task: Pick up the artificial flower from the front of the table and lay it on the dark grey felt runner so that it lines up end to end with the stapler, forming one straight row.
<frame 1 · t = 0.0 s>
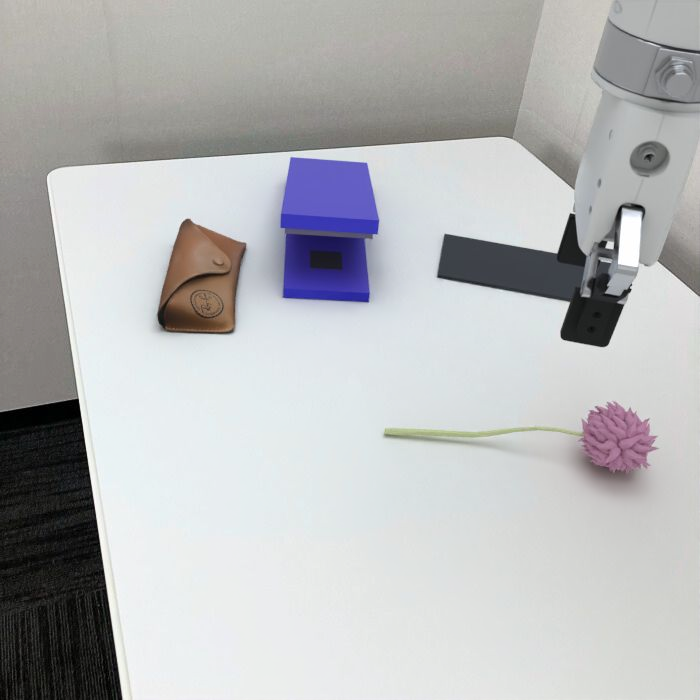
hand: (579, 299, 56), 21 cm above the table, tool pointing down, fingers open, 9 cm apart
sunglasses case: (205, 285, 89), on the table
runner: (526, 271, 98), on the table
stapler: (325, 236, 100), on the table
artificial flower: (514, 453, 73), on the table
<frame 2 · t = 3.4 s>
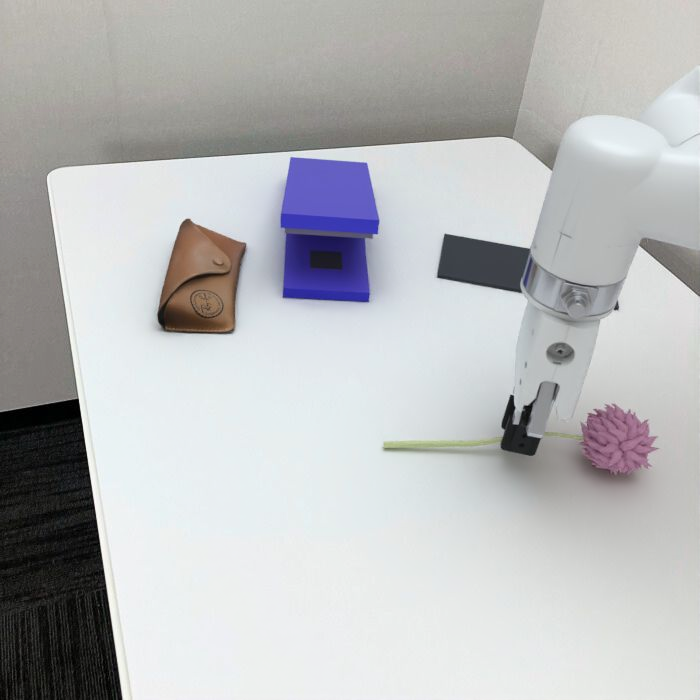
hand: (517, 439, 72), 2 cm above the table, tool pointing down, fingers closed on artificial flower
artificial flower: (514, 460, 73), on the table, touching gripper
everything else where it was.
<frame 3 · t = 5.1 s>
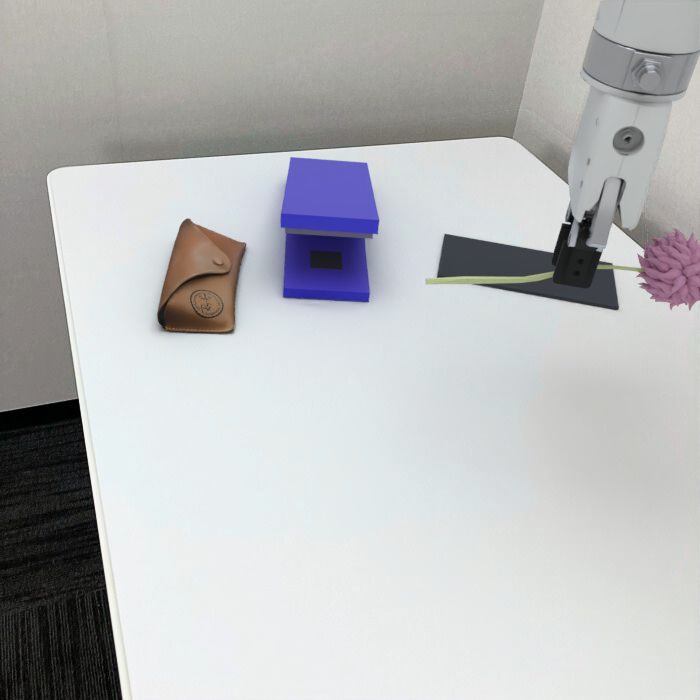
hand: (570, 274, 67), 17 cm above the table, tool pointing down, fingers closed on artificial flower
artificial flower: (566, 298, 67), point 15 cm above the table, touching gripper
everything else where it was.
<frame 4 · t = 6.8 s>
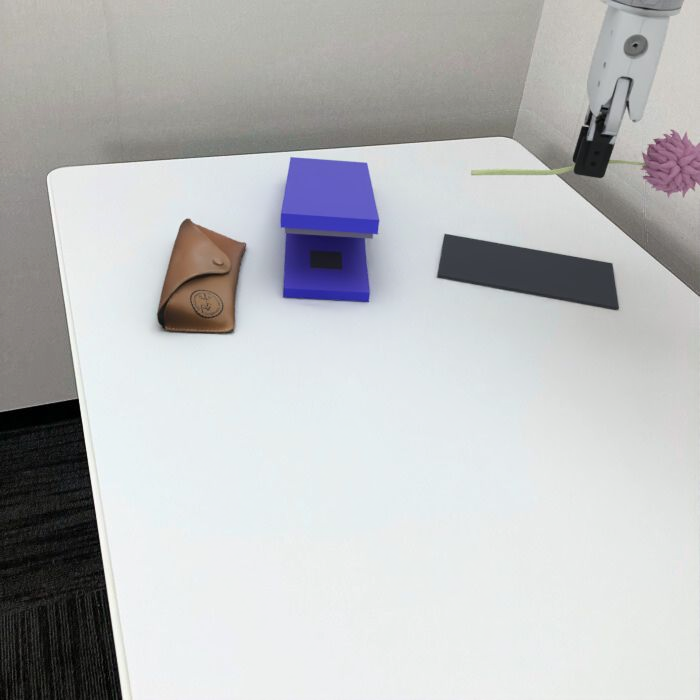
hand: (587, 168, 83), 17 cm above the table, tool pointing down, fingers closed on artificial flower
artificial flower: (584, 188, 84), point 15 cm above the table, touching gripper
everything else where it was.
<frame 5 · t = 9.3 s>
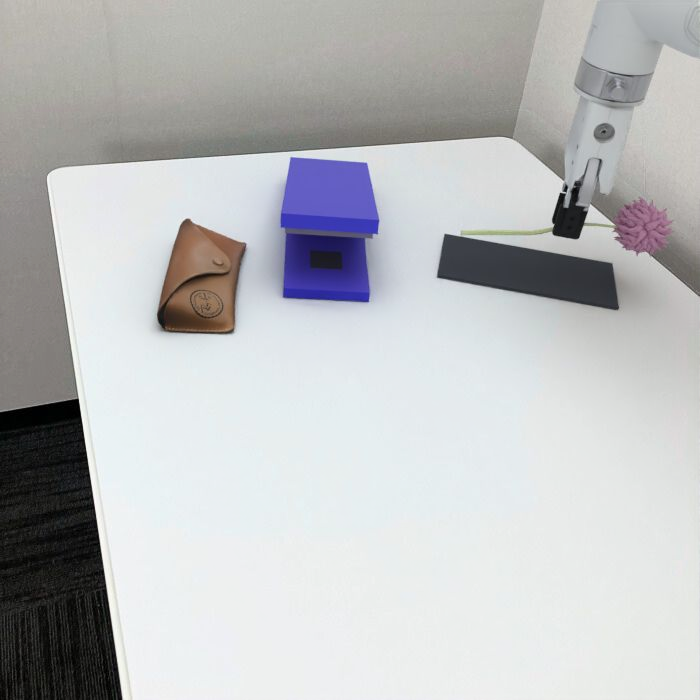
hand: (565, 229, 93), 7 cm above the table, tool pointing down, fingers closed on artificial flower
artificial flower: (561, 247, 94), point 5 cm above the table, touching gripper
everything else where it was.
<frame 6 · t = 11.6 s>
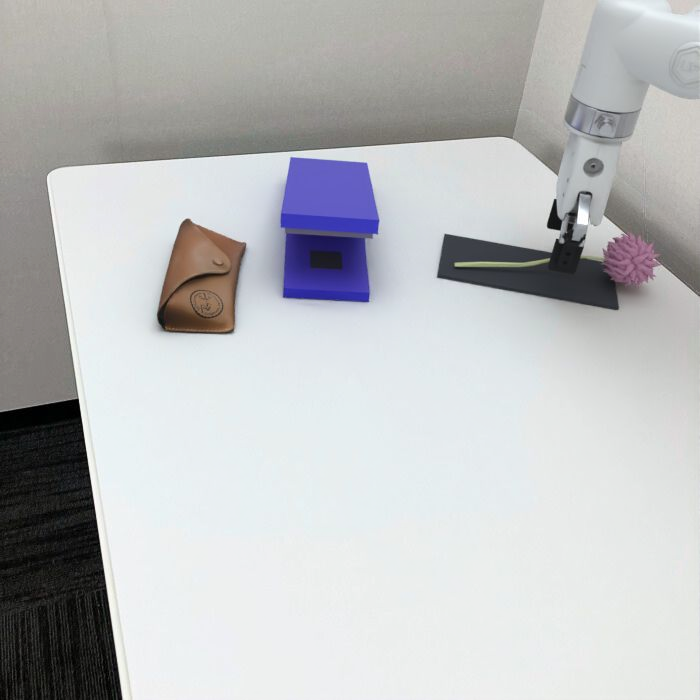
hand: (559, 249, 95), 4 cm above the table, tool pointing down, fingers open, 9 cm apart
artificial flower: (552, 278, 96), resting on runner
everything else where it was.
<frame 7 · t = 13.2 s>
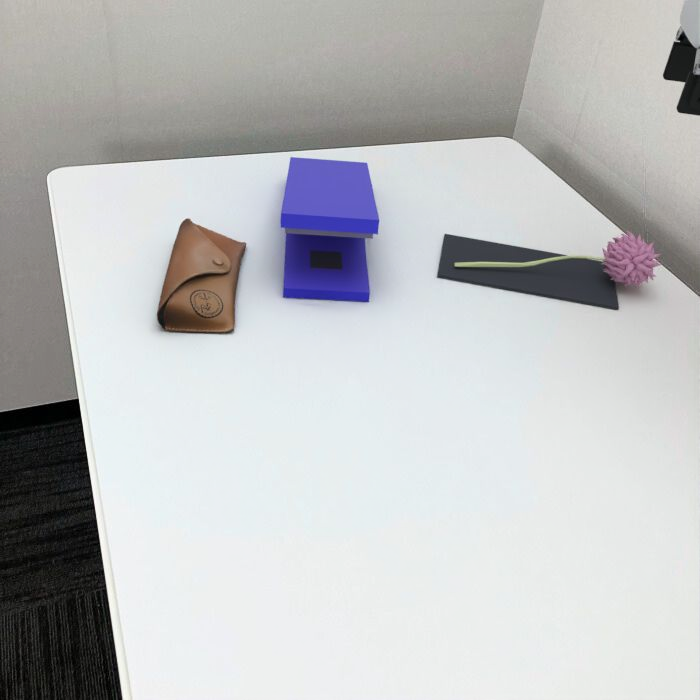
hand: (683, 96, 82), 24 cm above the table, tool pointing down, fingers open, 9 cm apart
nothing on the table moved.
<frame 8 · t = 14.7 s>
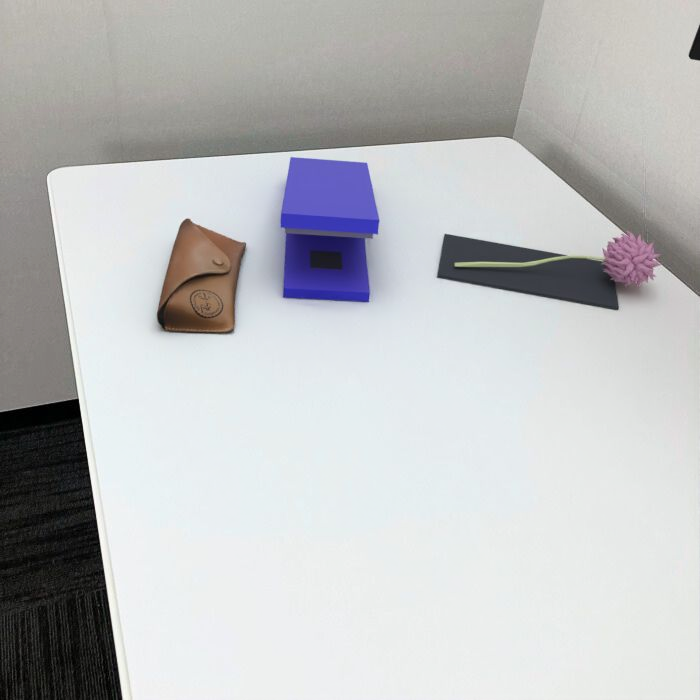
nothing on the table moved.
at the end: the gripper is holding nothing; stapler moved 0.2 cm from its start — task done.
